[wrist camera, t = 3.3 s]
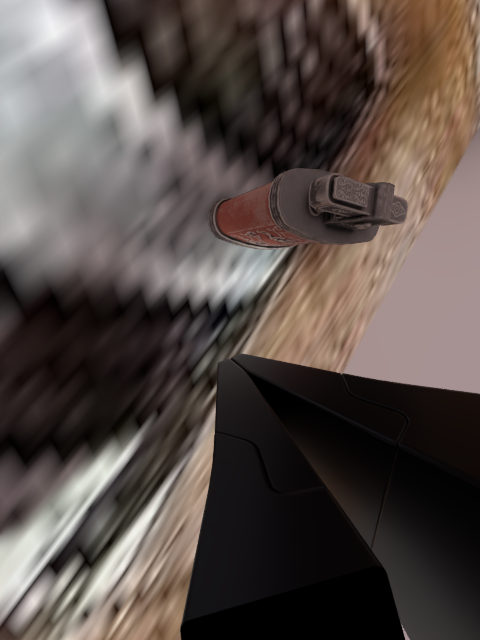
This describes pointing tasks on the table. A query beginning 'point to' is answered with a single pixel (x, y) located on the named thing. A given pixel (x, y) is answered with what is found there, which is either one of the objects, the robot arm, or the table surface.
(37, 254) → the table surface
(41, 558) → the table surface
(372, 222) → the lighter
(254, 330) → the table surface
